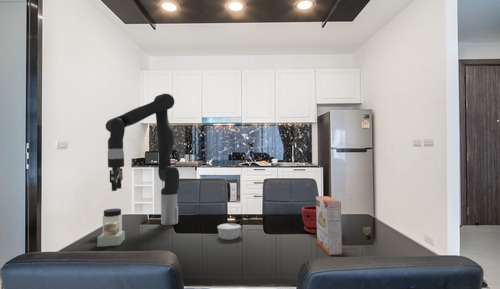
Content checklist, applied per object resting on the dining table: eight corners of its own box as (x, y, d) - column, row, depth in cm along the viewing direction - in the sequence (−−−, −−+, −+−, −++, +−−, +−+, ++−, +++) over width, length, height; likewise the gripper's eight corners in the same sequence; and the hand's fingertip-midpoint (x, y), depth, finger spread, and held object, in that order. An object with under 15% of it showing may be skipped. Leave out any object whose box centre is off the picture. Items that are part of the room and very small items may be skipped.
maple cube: (119, 232, 132) (119, 221, 132) (115, 235, 127) (115, 224, 127) (107, 232, 131) (107, 221, 132) (103, 235, 126) (103, 224, 127)
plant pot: (330, 228, 147) (329, 205, 147) (325, 235, 135) (325, 210, 135) (305, 226, 152) (305, 204, 153) (299, 232, 140) (298, 208, 141)
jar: (103, 236, 139) (103, 212, 139) (101, 233, 145) (101, 209, 146) (123, 233, 144) (123, 210, 144) (120, 230, 150) (120, 207, 151)
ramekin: (244, 234, 139) (244, 224, 139) (235, 241, 129) (235, 229, 129) (223, 232, 143) (223, 222, 143) (213, 239, 132) (213, 228, 132)
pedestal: (124, 239, 134) (124, 230, 134) (119, 245, 125) (119, 236, 126) (104, 240, 133) (104, 231, 133) (97, 246, 124) (97, 237, 124)
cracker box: (316, 244, 123) (315, 196, 124) (329, 243, 123) (328, 195, 124) (327, 255, 109) (326, 201, 110) (342, 255, 110) (341, 201, 110)
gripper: (120, 158, 137) (120, 191, 136) (127, 157, 151) (128, 187, 150) (103, 158, 135) (104, 192, 135) (112, 157, 149) (112, 188, 149)
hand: (116, 189), depth 143 cm, fingers open, 8 cm apart
